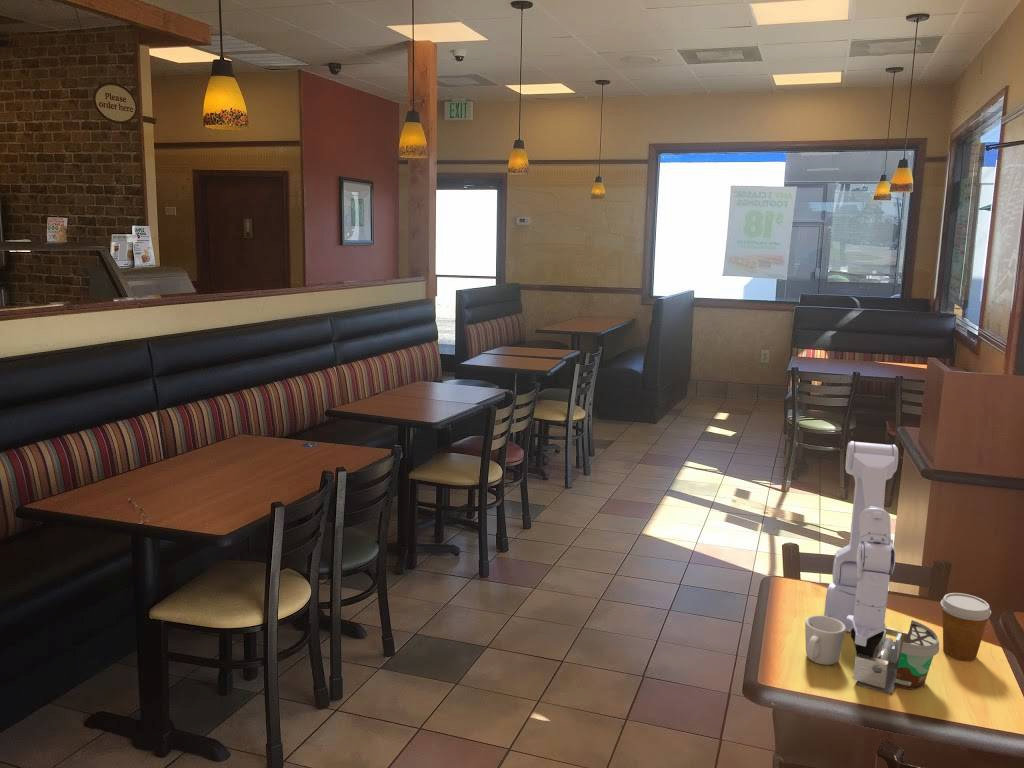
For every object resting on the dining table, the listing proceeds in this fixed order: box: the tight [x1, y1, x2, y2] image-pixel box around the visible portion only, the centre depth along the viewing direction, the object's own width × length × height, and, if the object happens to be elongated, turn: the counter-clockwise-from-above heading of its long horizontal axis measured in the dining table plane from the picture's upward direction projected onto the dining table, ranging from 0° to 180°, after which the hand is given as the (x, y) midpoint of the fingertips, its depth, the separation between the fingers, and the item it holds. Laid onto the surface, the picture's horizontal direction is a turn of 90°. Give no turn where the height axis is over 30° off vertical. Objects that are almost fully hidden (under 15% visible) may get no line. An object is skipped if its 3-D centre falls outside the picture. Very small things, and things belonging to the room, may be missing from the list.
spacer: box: [875, 625, 909, 656], centre depth 181 cm, size 6×1×5 cm, turn 57°
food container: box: [894, 619, 940, 690], centre depth 170 cm, size 12×6×10 cm, turn 148°
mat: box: [855, 650, 900, 696], centre depth 176 cm, size 7×21×1 cm, turn 147°
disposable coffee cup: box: [940, 592, 992, 662], centre depth 181 cm, size 10×10×12 cm
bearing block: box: [878, 629, 902, 663], centre depth 179 cm, size 4×4×6 cm
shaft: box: [852, 637, 895, 688], centre depth 173 cm, size 6×13×5 cm, turn 147°
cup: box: [804, 615, 847, 666], centre depth 177 cm, size 11×8×8 cm
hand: (863, 664), depth 171 cm, fingers closed
